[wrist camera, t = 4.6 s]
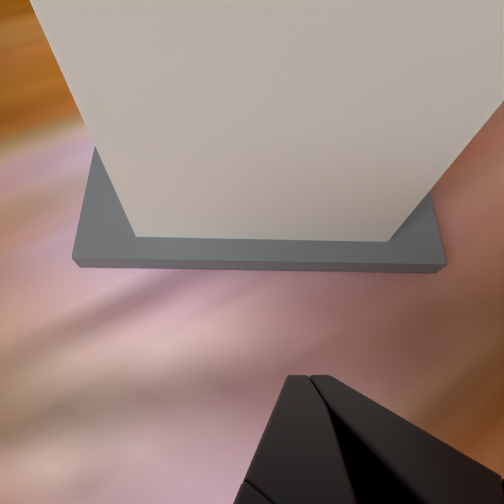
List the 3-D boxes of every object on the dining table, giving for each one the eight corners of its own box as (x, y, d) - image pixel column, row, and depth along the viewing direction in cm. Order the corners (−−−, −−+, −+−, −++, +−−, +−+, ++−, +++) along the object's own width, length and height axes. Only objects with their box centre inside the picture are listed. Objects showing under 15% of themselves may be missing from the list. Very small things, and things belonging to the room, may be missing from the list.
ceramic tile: (387, 241, 17) (655, -84, 6) (135, 236, 17) (-31, -134, 6) (377, 184, 19) (586, -165, 8) (143, 178, 18) (20, -213, 7)
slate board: (435, 273, 18) (446, 264, 17) (79, 267, 17) (71, 257, 16) (378, 19, 26) (383, 4, 25) (131, 6, 25) (127, -11, 24)
